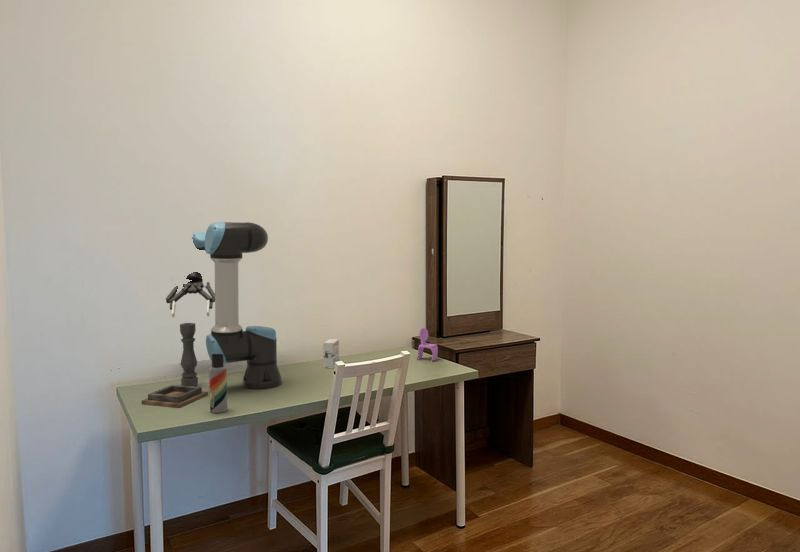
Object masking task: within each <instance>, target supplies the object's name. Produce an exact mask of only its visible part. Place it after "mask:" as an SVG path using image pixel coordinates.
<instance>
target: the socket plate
mask: <svg viewBox="0 0 800 552" xmlns="http://www.w3.org/2000/svg"><path fill="white" fill-rule="evenodd" d="M208 395H209V392H208V391H203V389H202V386H201V387H200V386H197V387H192V386H181V384H180V385H178V384H170V385H168V386H165V387H163V388H161V389H158V390H156V391H154V392H149V393H147V398H144V399H142V400H141V405H146V404H151V405H150V406H156V405H159V406H158V407H166V406H167V408H178V409H180V408H183V407H185V406H187V405H189V404H191V403H193V402H195V401H197V400H198V401H199V400H200V399H203V398H204V397H207V396H208Z"/></svg>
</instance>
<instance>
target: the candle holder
mask: <svg viewBox="0 0 800 552" xmlns="http://www.w3.org/2000/svg"><path fill="white" fill-rule="evenodd" d="M196 329H197V328H196V323H195V322H183V323H180V324H179V333H180V335H181V336H182V338H181V339H180V342H182V349H183V350H182V354H181V359H180V367H181V368H182V371H183V372H182V373H181V379H180V383H181V384H180V385H181V386H192V387H199V380H198V379H199V377H198V373H197V371H195V370H196V367H197V366H198V360H197V357H196V353H195V349H194V347H195V346H194V344H195V341H196V338H195V337H194V336H195V334H196V331H197V330H196Z"/></svg>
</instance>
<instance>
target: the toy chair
mask: <svg viewBox="0 0 800 552" xmlns="http://www.w3.org/2000/svg"><path fill="white" fill-rule="evenodd" d="M418 336H419V338H420V344H419V345H418V348H417V352H418V353H417V356H416V359H418V358H420V357H422V356H423V357H424V350H425V348H426V349H430V350H431V353H432V355H431V356H432V358H431V360H430V362H431V361H433V360H435V359H437V360H438V354H439V346H438V344H437V343H428V342H427V339H428V338H429V331H428V329H427V328H424V327H423V328H422V327H421V328H420V330H419V333H418ZM416 359H415V360H416ZM418 360H419V359H418ZM435 361H436V360H435ZM433 362H434V361H433Z"/></svg>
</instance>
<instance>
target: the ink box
mask: <svg viewBox="0 0 800 552" xmlns="http://www.w3.org/2000/svg"><path fill="white" fill-rule="evenodd" d="M339 349H340V340H339V339H337V338H333V339H332V338H329V339H327V340H326V341H324V342H323V363H322V364H323V366H322V368H323V367H332V368H333V369H334V368H335V367H334V365H335V362H337V361H339V360H340V359H339V358H340V356H339V355H340V354H339V352H340V350H339Z"/></svg>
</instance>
